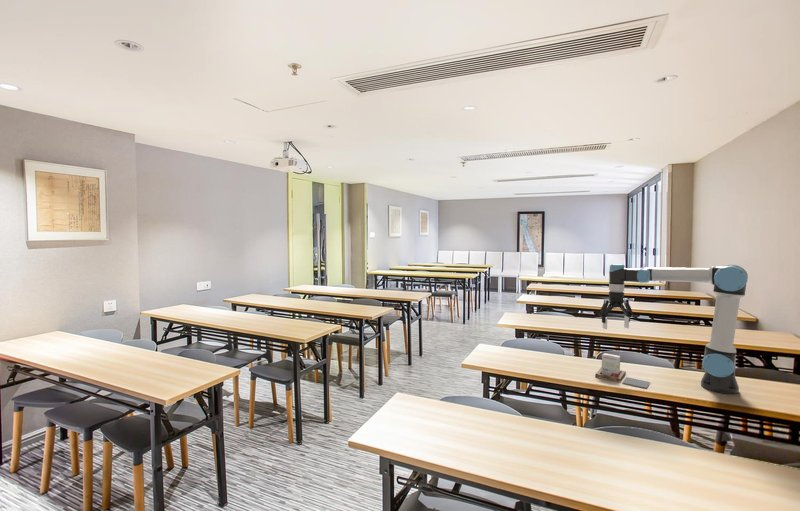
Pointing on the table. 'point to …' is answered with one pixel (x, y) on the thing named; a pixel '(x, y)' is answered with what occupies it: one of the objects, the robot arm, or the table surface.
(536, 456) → the table surface
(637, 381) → the pad
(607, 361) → the ink box
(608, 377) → the frame
